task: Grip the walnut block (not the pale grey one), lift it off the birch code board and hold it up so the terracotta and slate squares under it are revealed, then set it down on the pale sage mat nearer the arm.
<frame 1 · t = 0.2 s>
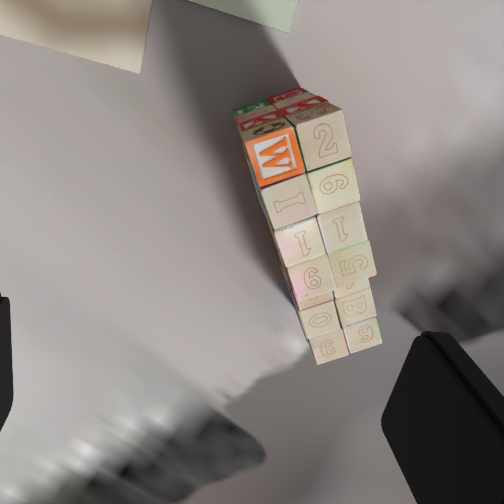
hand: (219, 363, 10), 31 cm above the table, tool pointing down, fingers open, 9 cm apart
stack of blocks: (296, 208, 43), on the table
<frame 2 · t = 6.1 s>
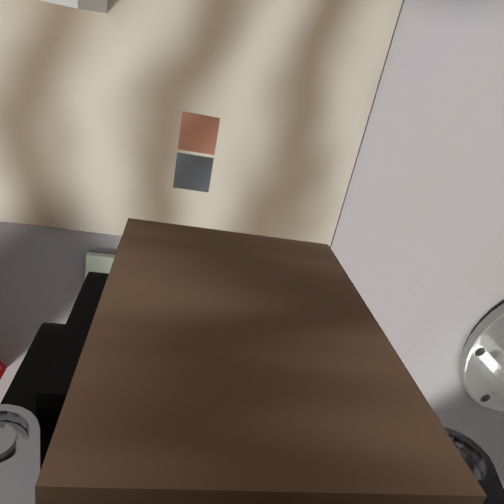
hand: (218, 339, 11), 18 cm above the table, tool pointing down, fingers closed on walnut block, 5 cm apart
walnut block: (216, 315, 12), point 17 cm above the table, touching gripper
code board: (187, 80, 25), on the table
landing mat: (172, 316, 32), on the table
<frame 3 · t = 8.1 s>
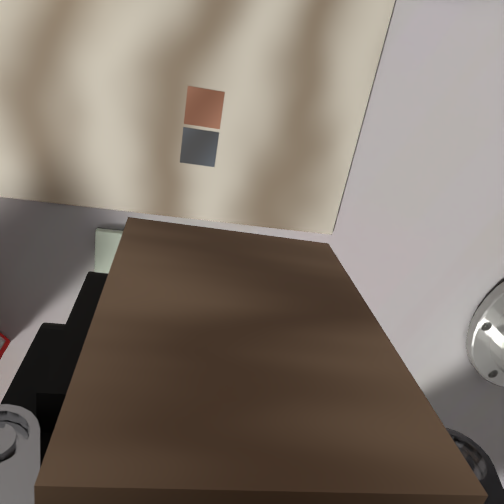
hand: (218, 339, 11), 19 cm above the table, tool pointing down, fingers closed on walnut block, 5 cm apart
walnut block: (216, 315, 12), point 18 cm above the table, touching gripper
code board: (192, 54, 26), on the table
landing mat: (181, 293, 33), on the table
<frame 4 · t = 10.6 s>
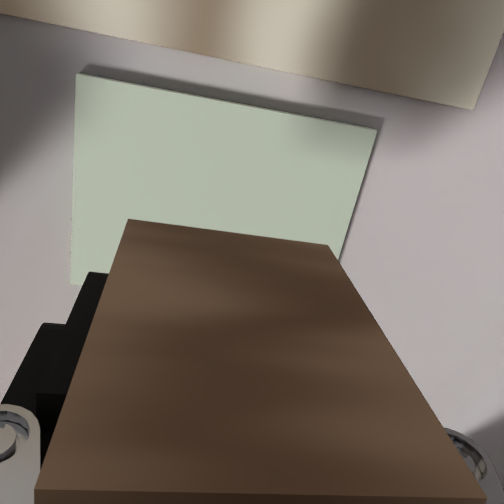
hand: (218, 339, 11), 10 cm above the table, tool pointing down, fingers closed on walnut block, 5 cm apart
walnut block: (216, 316, 12), point 9 cm above the table, touching gripper
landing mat: (217, 206, 20), on the table
when the fingers open (3 cm above the table, at t = 12.7 s): walnut block drops 1 cm, resting on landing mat.
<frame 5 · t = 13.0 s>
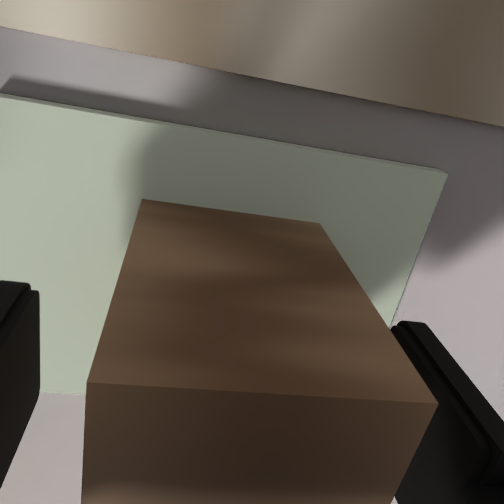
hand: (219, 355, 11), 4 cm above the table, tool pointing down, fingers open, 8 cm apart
walnut block: (219, 288, 13), resting on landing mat
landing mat: (213, 279, 14), on the table
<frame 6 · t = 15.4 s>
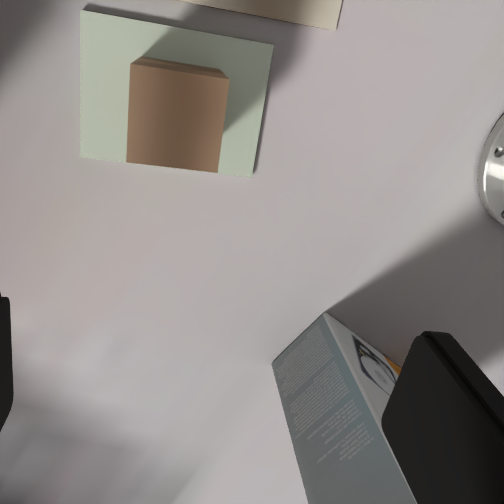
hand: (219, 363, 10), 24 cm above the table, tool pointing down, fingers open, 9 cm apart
walnut block: (177, 102, 30), resting on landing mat
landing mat: (174, 101, 30), on the table
hard drive box: (349, 372, 44), on the table
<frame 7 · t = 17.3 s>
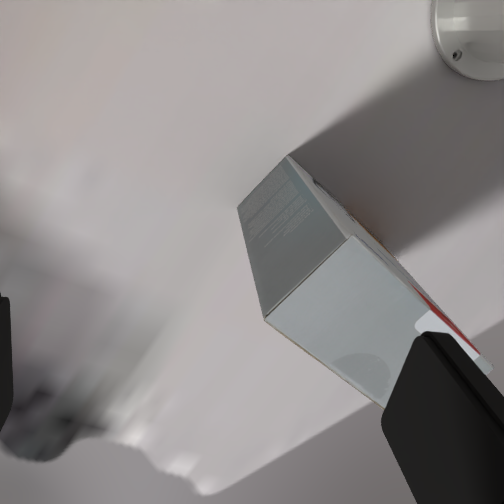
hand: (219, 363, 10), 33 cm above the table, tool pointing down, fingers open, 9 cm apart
hard drive box: (312, 227, 46), on the table
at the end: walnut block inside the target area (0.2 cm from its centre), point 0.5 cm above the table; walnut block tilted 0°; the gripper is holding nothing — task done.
